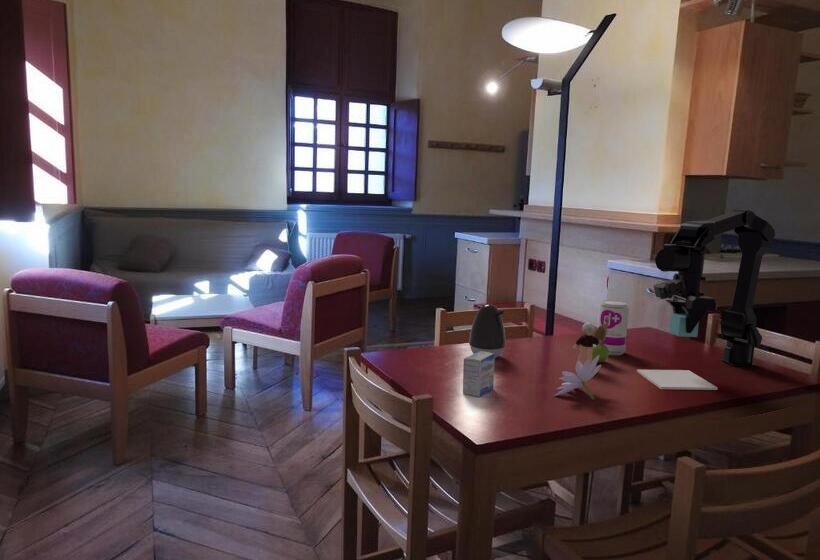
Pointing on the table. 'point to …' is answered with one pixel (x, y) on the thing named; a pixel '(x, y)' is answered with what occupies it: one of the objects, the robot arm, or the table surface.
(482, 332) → the penguin figurine
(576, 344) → the grandmother figurine
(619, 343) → the supplement can
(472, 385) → the medicine box
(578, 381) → the water lily
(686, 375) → the tile
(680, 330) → the cube
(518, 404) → the table surface
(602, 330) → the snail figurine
